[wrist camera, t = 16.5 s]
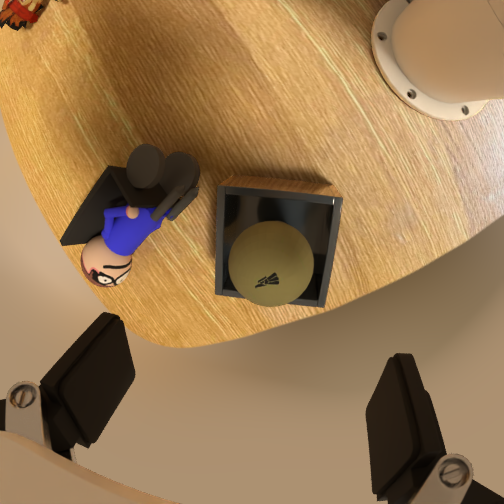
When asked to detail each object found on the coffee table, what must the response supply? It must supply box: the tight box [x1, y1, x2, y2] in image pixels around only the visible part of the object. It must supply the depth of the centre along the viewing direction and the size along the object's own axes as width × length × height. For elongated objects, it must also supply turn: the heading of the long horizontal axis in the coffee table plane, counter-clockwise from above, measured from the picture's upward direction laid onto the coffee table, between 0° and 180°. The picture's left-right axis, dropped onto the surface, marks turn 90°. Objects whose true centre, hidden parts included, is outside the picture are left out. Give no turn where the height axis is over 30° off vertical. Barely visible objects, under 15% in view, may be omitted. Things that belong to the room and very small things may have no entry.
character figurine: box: [60, 144, 200, 287], centre depth 25 cm, size 8×7×15 cm
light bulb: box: [228, 221, 314, 307], centre depth 22 cm, size 6×6×10 cm
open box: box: [215, 175, 343, 308], centre depth 25 cm, size 9×9×6 cm
